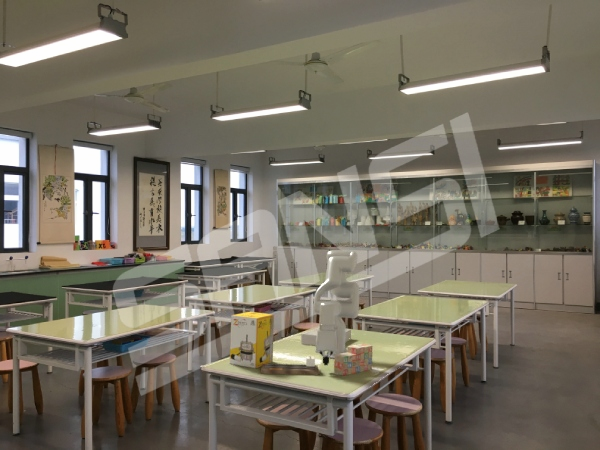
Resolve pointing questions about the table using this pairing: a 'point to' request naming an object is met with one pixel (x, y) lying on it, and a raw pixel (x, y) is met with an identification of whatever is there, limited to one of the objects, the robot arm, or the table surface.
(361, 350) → the stack of blocks
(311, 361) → the fader knob
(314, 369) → the fader console
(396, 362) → the table surface
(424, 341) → the table surface
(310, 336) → the box
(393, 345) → the table surface
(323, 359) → the robot arm
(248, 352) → the packaging box
